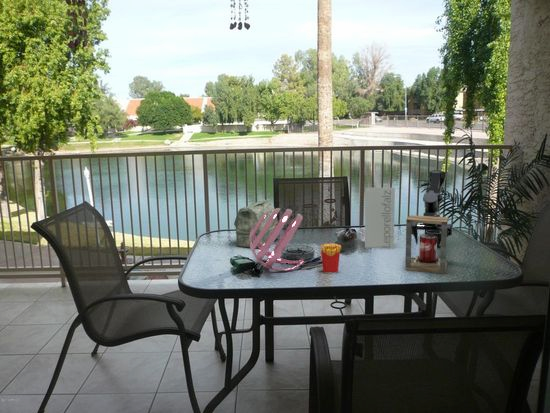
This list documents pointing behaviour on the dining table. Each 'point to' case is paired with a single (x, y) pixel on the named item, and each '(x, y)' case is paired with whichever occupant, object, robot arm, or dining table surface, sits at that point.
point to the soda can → (428, 248)
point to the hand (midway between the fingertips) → (427, 244)
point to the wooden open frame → (414, 263)
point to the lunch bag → (253, 222)
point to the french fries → (330, 257)
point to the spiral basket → (273, 235)
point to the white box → (379, 217)
